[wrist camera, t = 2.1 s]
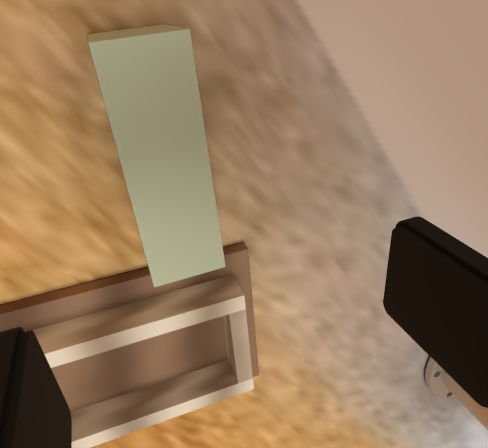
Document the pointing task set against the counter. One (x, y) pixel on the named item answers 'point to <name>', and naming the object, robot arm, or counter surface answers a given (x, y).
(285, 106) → the counter surface
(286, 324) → the counter surface
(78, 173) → the counter surface
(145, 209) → the bar
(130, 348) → the brown rectangular tray
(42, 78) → the counter surface
